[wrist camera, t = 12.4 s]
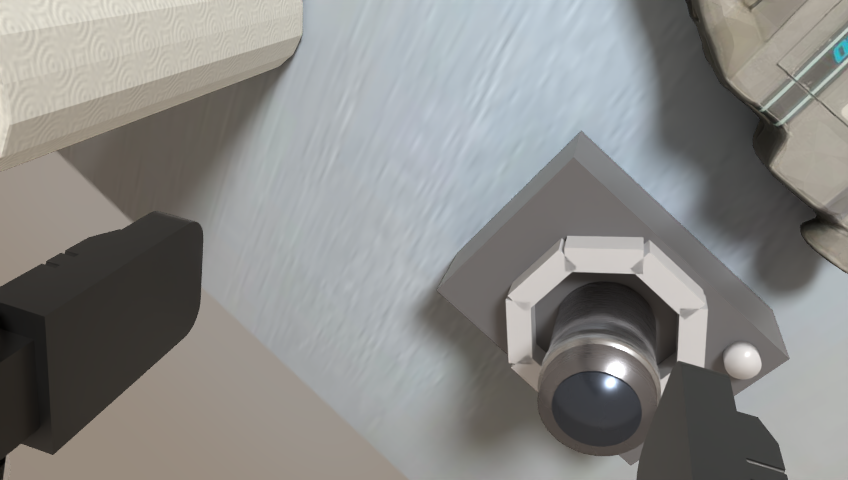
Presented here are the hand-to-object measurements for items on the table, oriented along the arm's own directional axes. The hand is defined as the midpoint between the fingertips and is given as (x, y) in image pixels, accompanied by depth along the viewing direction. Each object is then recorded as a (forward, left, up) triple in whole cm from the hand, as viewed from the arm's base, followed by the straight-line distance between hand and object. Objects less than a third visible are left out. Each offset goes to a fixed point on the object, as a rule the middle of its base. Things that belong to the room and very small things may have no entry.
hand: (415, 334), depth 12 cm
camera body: (+10, -7, -28) cm, 31 cm away
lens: (+10, -7, -23) cm, 26 cm away
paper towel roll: (-14, -9, -28) cm, 33 cm away
